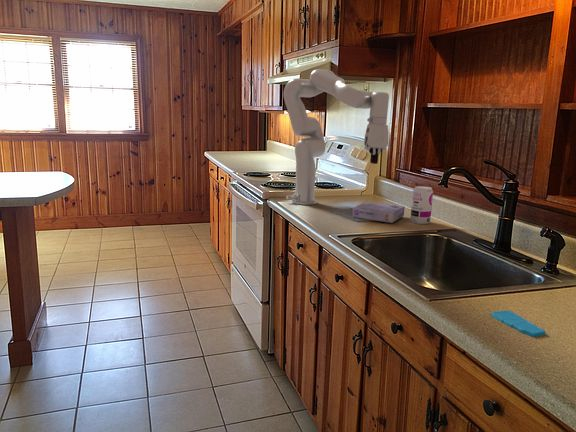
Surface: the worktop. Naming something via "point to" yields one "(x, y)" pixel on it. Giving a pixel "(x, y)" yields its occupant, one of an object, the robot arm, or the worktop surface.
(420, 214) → the supplement can
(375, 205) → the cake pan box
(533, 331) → the sponge
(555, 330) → the worktop surface
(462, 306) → the worktop surface
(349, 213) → the mat
